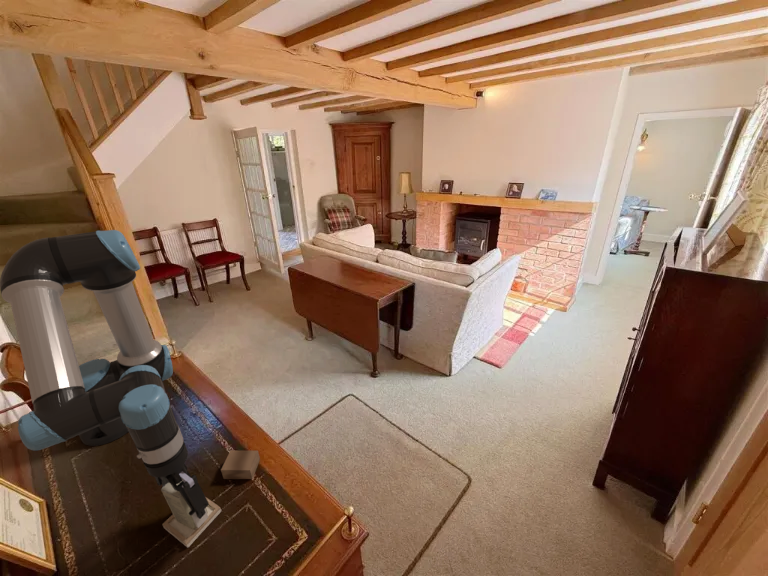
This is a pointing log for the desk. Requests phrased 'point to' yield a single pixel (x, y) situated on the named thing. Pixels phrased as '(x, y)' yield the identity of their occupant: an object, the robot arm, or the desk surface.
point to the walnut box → (240, 465)
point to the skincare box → (178, 506)
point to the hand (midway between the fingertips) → (190, 512)
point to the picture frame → (188, 534)
